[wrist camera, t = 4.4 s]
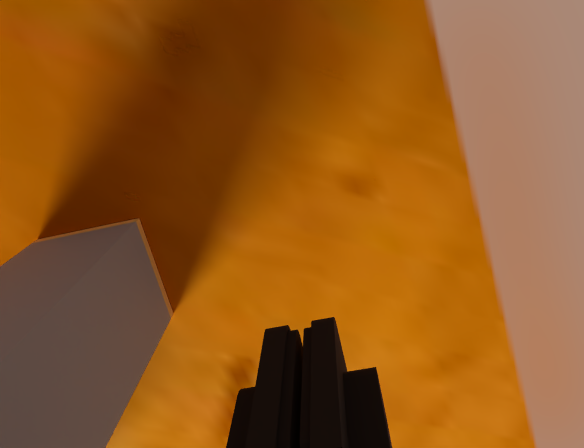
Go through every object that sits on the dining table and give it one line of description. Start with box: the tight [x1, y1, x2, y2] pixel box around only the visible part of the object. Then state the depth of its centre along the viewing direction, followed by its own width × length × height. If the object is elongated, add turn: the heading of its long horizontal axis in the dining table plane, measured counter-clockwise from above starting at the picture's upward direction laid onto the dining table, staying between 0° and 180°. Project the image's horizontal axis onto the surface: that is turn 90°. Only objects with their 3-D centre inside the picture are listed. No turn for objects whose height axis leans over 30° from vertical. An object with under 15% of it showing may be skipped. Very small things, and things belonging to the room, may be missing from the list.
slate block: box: [0, 218, 173, 448], centre depth 15 cm, size 4×4×13 cm
